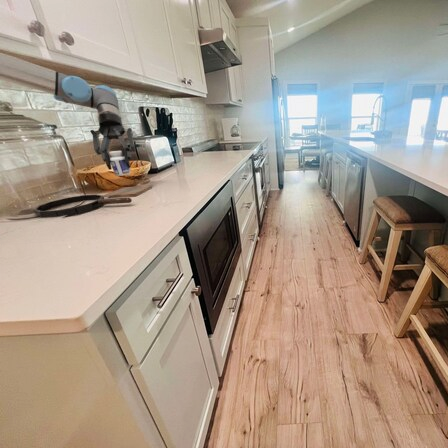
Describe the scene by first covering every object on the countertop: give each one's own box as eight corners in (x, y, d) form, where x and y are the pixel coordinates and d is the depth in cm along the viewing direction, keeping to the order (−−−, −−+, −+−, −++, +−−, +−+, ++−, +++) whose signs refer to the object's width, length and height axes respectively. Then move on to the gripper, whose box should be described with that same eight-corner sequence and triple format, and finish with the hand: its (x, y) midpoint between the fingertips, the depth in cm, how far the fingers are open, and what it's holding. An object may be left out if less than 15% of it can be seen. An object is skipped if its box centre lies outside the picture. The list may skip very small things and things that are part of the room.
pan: (22, 220, 73) (17, 211, 72) (68, 202, 88) (65, 195, 87) (117, 214, 74) (113, 206, 72) (146, 198, 89) (144, 190, 88)
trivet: (104, 198, 92) (103, 195, 91) (123, 189, 103) (122, 187, 102) (136, 196, 92) (135, 193, 92) (152, 188, 103) (151, 185, 103)
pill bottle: (132, 172, 98) (124, 150, 94) (130, 175, 93) (122, 151, 90) (116, 174, 96) (108, 151, 92) (113, 176, 91) (105, 152, 88)
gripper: (138, 125, 104) (148, 169, 97) (86, 127, 96) (93, 175, 89) (133, 111, 97) (144, 157, 91) (76, 112, 90) (83, 163, 83)
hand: (118, 166), depth 90 cm, fingers closed on pill bottle, 5 cm apart
